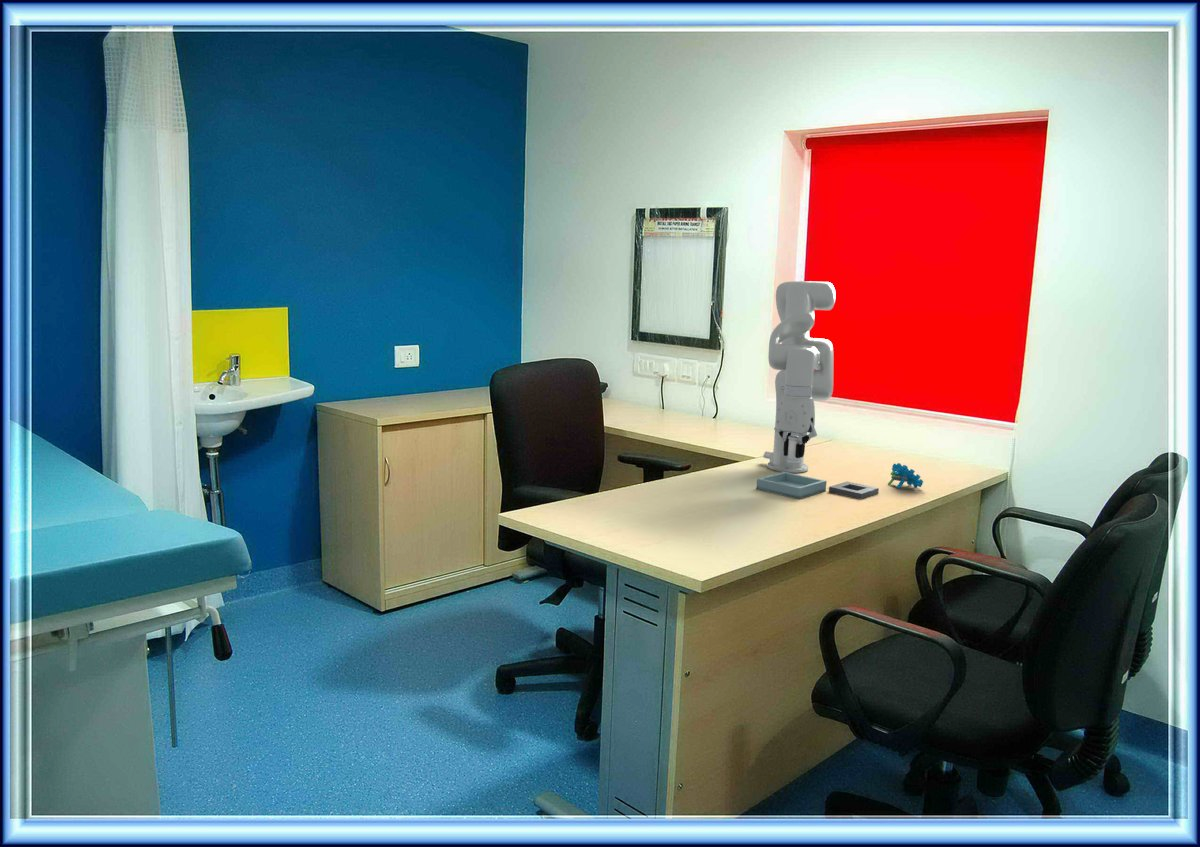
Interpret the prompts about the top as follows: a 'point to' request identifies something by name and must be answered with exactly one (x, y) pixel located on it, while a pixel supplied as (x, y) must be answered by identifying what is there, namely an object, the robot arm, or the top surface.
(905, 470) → the blue lumpy figure
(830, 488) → the frame
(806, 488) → the parts tray
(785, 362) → the robot arm
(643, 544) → the top surface
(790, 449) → the cylinder
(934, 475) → the top surface
